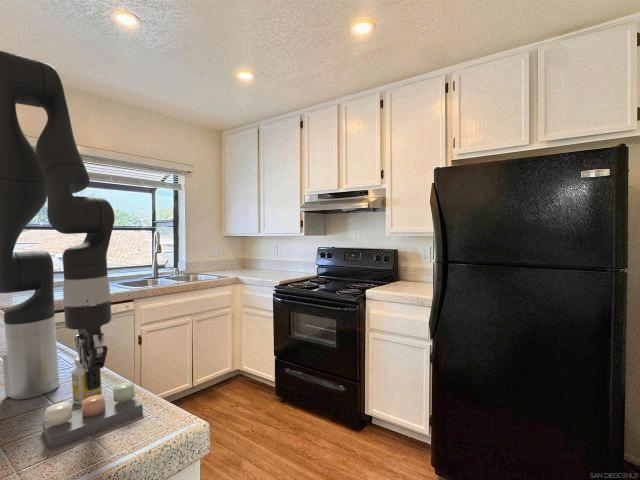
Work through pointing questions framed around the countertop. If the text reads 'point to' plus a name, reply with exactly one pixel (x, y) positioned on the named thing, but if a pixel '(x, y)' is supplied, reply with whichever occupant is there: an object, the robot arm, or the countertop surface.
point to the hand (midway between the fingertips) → (93, 388)
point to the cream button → (58, 413)
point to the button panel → (91, 422)
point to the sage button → (124, 392)
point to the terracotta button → (93, 405)
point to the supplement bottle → (82, 384)
